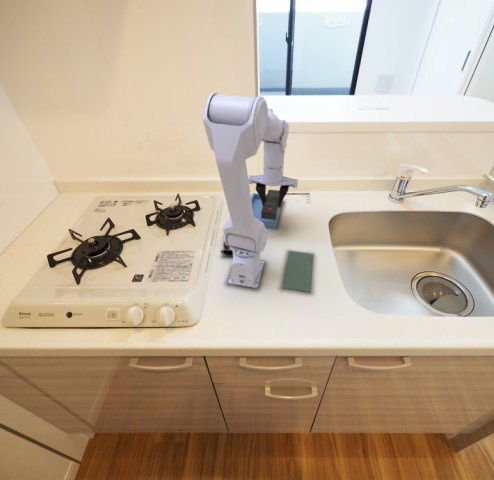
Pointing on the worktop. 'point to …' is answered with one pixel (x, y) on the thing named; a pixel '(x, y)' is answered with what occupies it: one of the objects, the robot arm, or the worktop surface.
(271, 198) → the remote
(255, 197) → the box
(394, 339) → the worktop surface
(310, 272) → the mat
